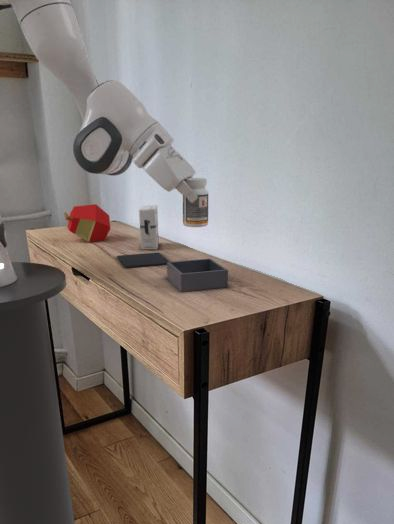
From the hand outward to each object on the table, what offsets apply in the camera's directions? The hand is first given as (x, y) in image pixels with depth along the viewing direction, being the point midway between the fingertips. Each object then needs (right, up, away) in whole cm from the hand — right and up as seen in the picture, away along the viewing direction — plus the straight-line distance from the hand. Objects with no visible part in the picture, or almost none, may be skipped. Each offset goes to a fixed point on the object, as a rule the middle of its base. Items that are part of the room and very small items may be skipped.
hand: (198, 198), depth 105 cm
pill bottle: (-1, -5, +3) cm, 6 cm away
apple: (-35, +2, +51) cm, 62 cm away
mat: (-15, -9, +26) cm, 32 cm away
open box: (0, -17, +8) cm, 19 cm away
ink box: (-15, -2, +42) cm, 45 cm away
